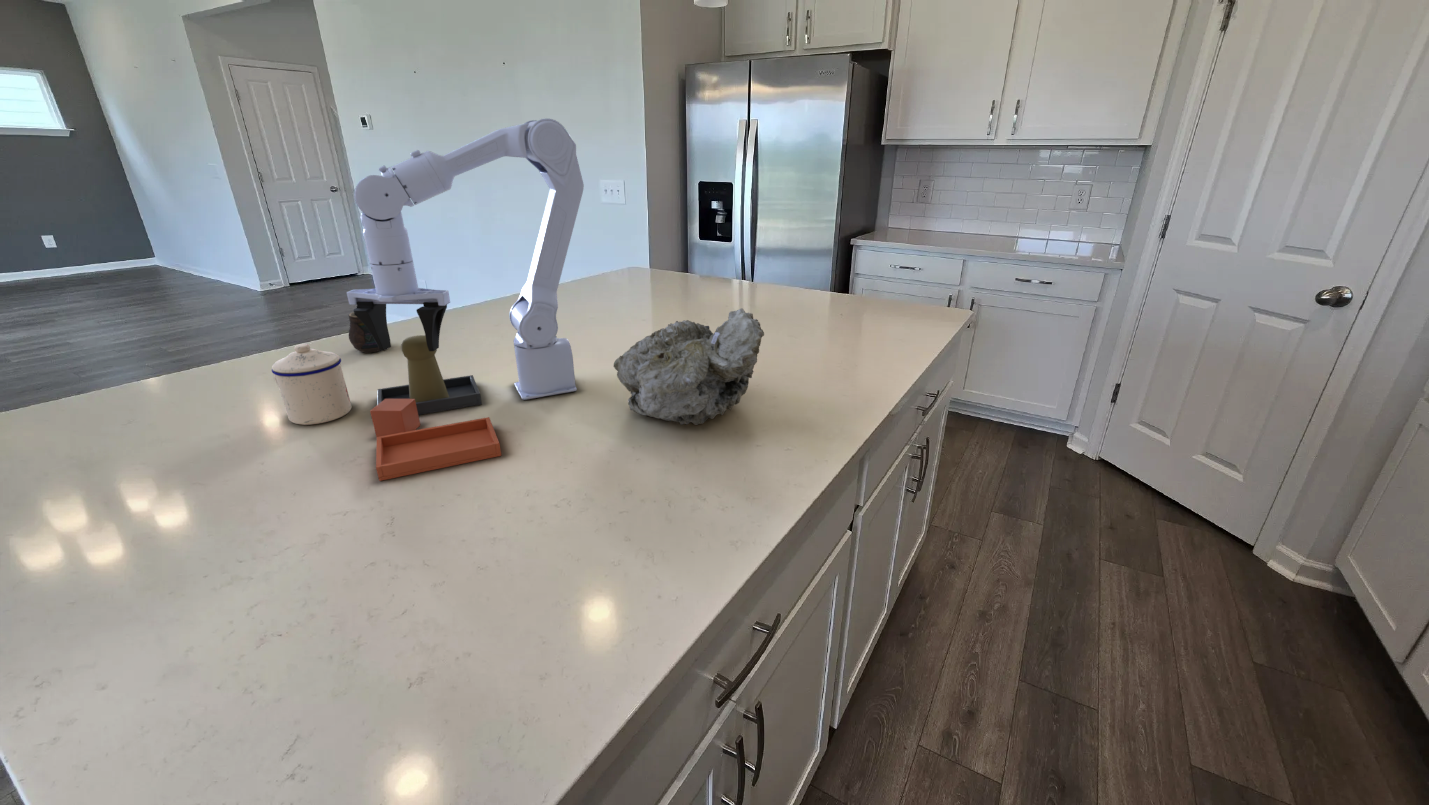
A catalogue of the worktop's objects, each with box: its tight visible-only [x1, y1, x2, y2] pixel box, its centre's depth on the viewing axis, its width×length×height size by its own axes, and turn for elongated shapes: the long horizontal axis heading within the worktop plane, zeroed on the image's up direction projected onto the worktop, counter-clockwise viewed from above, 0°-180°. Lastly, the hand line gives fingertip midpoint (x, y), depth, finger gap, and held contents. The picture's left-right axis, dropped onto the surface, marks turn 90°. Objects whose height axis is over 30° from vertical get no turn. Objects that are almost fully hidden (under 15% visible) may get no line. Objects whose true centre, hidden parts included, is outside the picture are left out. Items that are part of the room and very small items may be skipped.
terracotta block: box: [369, 399, 421, 438], centre depth 88 cm, size 4×4×4 cm
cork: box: [400, 334, 449, 403], centre depth 97 cm, size 6×6×11 cm
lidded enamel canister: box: [271, 343, 352, 426], centre depth 92 cm, size 12×9×12 cm
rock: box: [613, 308, 765, 426], centre depth 93 cm, size 24×17×25 cm
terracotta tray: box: [375, 416, 502, 482], centre depth 82 cm, size 15×10×2 cm, turn 118°
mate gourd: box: [348, 311, 380, 354], centre depth 122 cm, size 7×8×10 cm
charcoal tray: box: [376, 374, 483, 416], centre depth 99 cm, size 15×10×2 cm, turn 118°
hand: (409, 349), depth 92 cm, fingers open, 7 cm apart
